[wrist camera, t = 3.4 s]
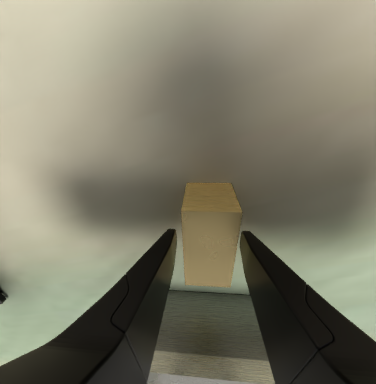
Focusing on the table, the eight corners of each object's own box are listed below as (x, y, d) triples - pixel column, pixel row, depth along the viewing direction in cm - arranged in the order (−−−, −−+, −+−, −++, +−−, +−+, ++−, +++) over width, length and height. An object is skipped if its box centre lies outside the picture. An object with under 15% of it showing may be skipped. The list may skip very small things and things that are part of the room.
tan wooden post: (188, 244, 12) (185, 284, 9) (186, 181, 9) (181, 211, 7) (223, 245, 11) (230, 287, 9) (230, 182, 9) (242, 212, 6)
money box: (156, 352, 21) (144, 417, 17) (138, 288, 14) (110, 368, 10) (250, 361, 20) (264, 433, 16) (276, 296, 13) (312, 389, 9)
